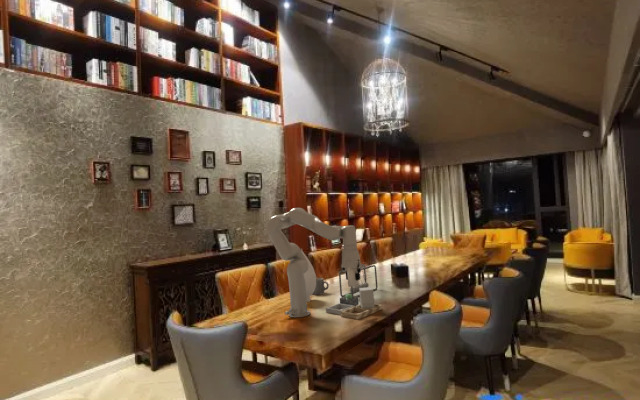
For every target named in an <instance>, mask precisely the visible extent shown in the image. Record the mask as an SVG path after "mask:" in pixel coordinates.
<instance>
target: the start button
mask: <svg viewBox="0 0 640 400" xmlns="http://www.w3.org/2000/svg"><path fill="white" fill-rule="evenodd" d="M345 294H346V295H345ZM345 294H344V295H345V296H346V299H351V298H352V294H348V293H345Z"/></svg>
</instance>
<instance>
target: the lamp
mask: <svg viewBox="0 0 640 400" xmlns="http://www.w3.org/2000/svg"><path fill="white" fill-rule="evenodd" d="M301 251H302V253H303V255H304V256H305V258H306V260H307V262H308V265H309V267H308V270H307V271H306V272H305V273H304V278H305V285H306V299H307V302H310V301H311V300H312V299H311V296H312V293H313V292H314V290H315V287H316V278H317V275H316V272H315V269H314V266H313V265H312V263H311V261H310V260H309V258H308V256H307V255H306V254H305V252H304V251H303V250H301Z"/></svg>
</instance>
